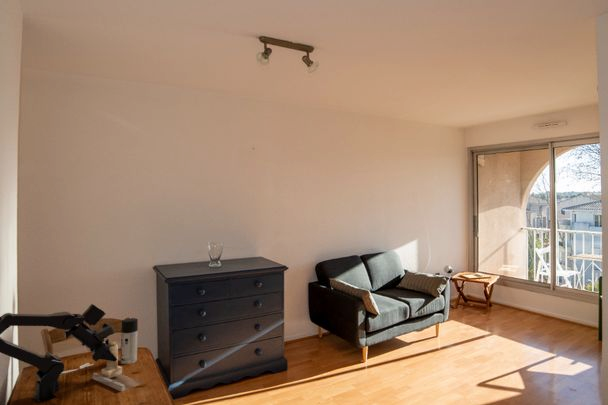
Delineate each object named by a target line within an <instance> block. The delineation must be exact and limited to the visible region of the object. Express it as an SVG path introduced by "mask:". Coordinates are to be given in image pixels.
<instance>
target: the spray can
mask: <svg viewBox="0 0 608 405" xmlns="http://www.w3.org/2000/svg"><path fill="white" fill-rule="evenodd" d="M138 320H139V319H138V318H136V317H131V318H129V317H128V318H124V319H122V320H121V331H120V332H121V333H120V334H121V335H120V337H121V340H120V344H121V345H120V364H122V365H129V364H130V365H131V364H133V363H136V362H137V360H138V333H139V332H138V329H139V328H138V327H139V325H138V322H139V321H138Z"/></svg>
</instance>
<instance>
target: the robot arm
mask: <svg viewBox="0 0 608 405" xmlns="http://www.w3.org/2000/svg"><path fill="white" fill-rule="evenodd" d="M106 314H107V313H105V311H103V310H102V309H101V308H99V307H97V306H96V305H95V304H93V303H91V304H90V305H89V306H88V308H87V309H86V310H85V311H84V312H83V313H82V314H80V313H71V312H70V311H60V312H54V313H50V314H42V313H41V314H40V313H39V314H36V313H35V314H33V313H12V312H5V313H3V314H2V315H1V316H0V353H1V354H3V355H5V356H7V357H11V358H13V359H15V360H17V361H21V362H23V363H25V364H27V365H31V366H33V367H35V368H37V369H38V370H37V371H36V372H35V373H34V375H35V378H36V379H37V381H35V391H34V394H35V395H32V398H33V399H34V400H36V401H37V402H39V403H43V402H46V401H48V400H49V401H50V400H51V399H54V398H57V396H56V395H55V393H56V392H59V390H60V381H59V378H60V376H61V375H62V374H61V373H62V372H64V371H65V364H64V362H63V361H62V359H61V358H60V356H59V355H57V354H52V353H51V352H49V351H46V352H45V354H39V353H37V352H35V351H33V350H30V349H28V348H25V347H23V346H20V345H18V344H15V343H12V342H10V341H8V340H6V339H4V338H2V337H1V335H2V334H3V333H4V332H5V331H6V330H8V329H9V328H10V327H50V328H55V329H59V330H64V331H63V332H64V338H65V339H68V338H69V337H70V336H71V337H73V338H74V339H75V340H77V341H78V342H80V343H81V346H83V347H84V346H85V347H86V348H88V349H89V352H91V360H93V361H94V362H98V361H99V360H105V361H107V360H109V361H116V360H117V358H116V357H115V356H114V355H113V353H112V352H111V351H110V350H109V348H110V346H109V343H110V341H109V338H108V337H110V336H111V335H114V334H115V333H116V330H115V327H114V326H113V324H112V323H108V322H104V323H102V327H101V328H100V329H98V330H97V329H92V328H91V326H96V325H97V324H98V323H99V322H100V321H101V319H102V318H103V317H105V315H106ZM84 322H85V323H84ZM105 339H106V340H105Z"/></svg>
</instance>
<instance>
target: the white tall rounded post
mask: <svg viewBox="0 0 608 405" xmlns="http://www.w3.org/2000/svg"><path fill="white" fill-rule="evenodd" d="M109 346H110V348H109V350H110V351H111V352H112V353H113V355H114V356H115V357H116V358H117V360H116V361H109V360H106V367H104V368H102V369H101V375H102V376H105V377H107V378H111V377H114V376H116V375H119V374H122V375H123V366H120V365H118V364H119V362H118V361H119V345H118V344H117V341H109Z"/></svg>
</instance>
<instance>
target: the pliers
mask: <svg viewBox="0 0 608 405" xmlns="http://www.w3.org/2000/svg"><path fill="white" fill-rule="evenodd" d="M93 365H94V363H92V364H90V362H87V363H85V364H82V365H80V366H79V367H78V368H75V369H70V370H63V372H62V373H61V374H60V375H66V374H68V373H69V374H70V373H72V372H74V371H77V370H80V369H85V368H86V367H91V366H93Z"/></svg>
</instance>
